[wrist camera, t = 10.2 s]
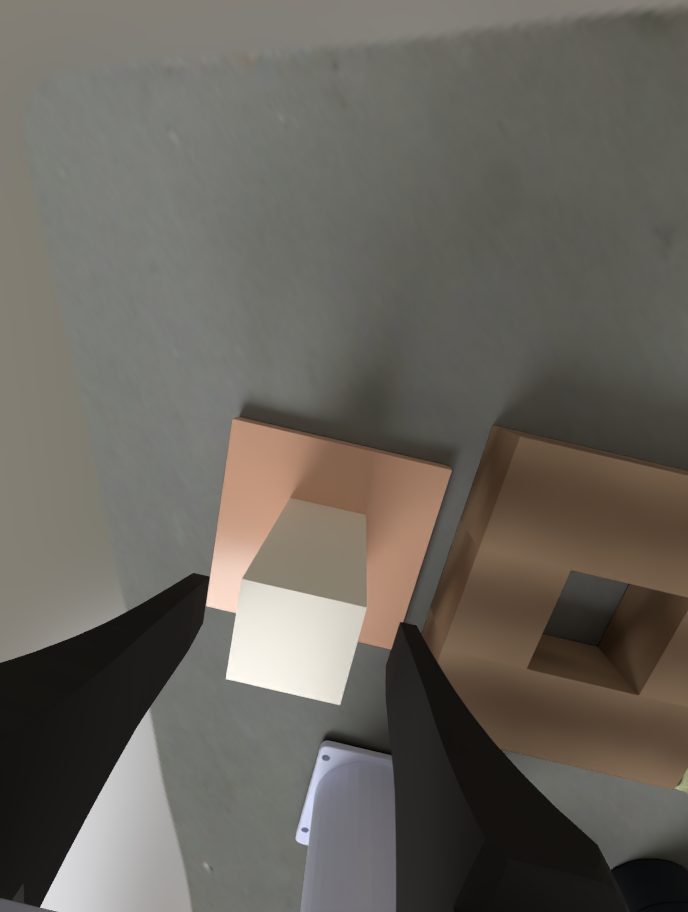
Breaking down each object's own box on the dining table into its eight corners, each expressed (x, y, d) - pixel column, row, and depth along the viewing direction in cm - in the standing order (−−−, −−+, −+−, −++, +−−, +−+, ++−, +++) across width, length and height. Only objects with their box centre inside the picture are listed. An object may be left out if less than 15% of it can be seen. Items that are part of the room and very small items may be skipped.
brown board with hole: (629, 730, 21) (673, 789, 18) (406, 677, 21) (413, 728, 18) (770, 489, 17) (857, 515, 14) (492, 425, 17) (520, 436, 14)
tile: (392, 639, 20) (394, 650, 19) (212, 596, 20) (206, 606, 19) (448, 465, 17) (451, 470, 16) (238, 416, 17) (232, 418, 16)
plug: (349, 581, 18) (340, 705, 11) (277, 564, 18) (226, 678, 11) (366, 514, 17) (367, 607, 10) (290, 497, 17) (241, 578, 10)
